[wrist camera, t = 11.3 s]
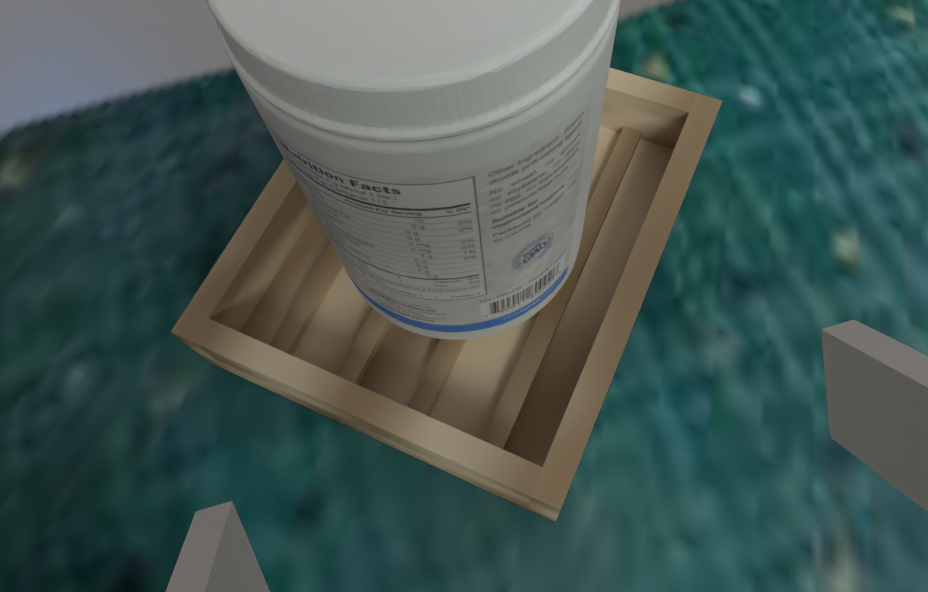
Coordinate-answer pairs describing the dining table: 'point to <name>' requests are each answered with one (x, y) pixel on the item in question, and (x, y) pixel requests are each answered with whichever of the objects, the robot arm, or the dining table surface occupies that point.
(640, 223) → the slatted wooden tray
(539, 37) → the supplement tub
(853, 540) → the dining table surface
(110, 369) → the dining table surface
